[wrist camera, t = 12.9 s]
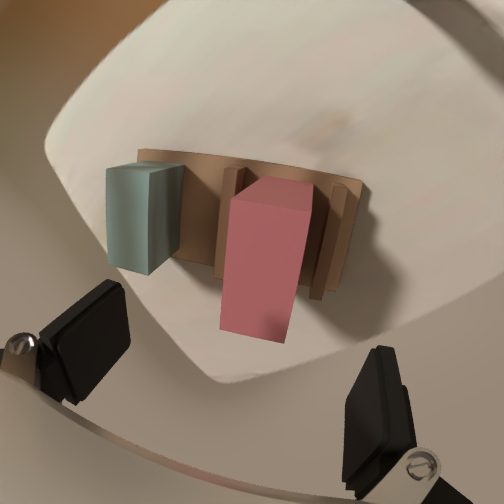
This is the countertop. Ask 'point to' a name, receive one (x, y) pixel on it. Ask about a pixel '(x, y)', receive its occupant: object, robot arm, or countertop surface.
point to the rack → (216, 212)
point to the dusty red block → (264, 256)
